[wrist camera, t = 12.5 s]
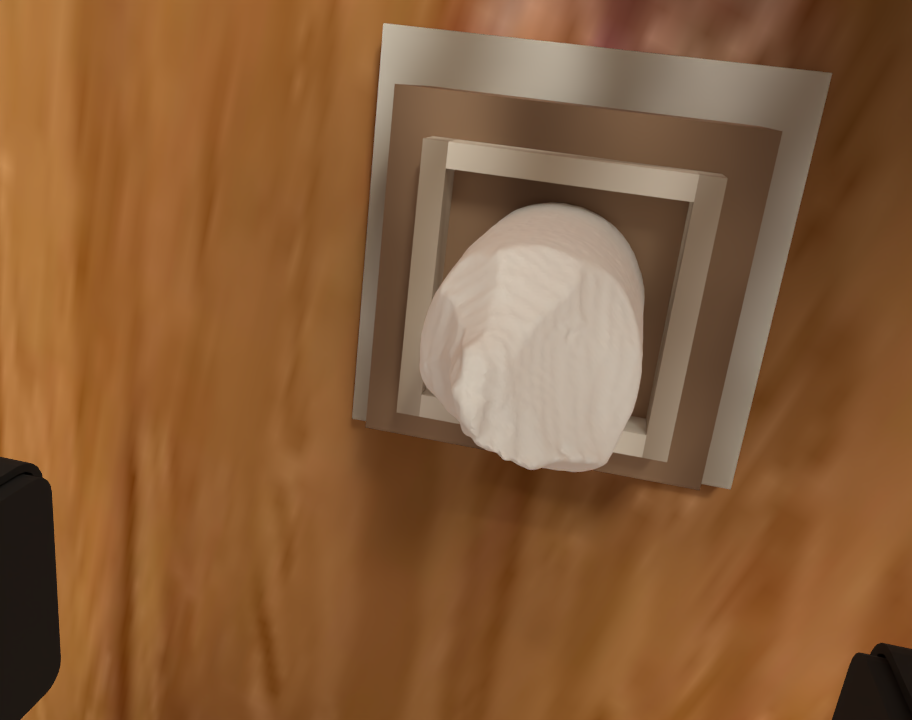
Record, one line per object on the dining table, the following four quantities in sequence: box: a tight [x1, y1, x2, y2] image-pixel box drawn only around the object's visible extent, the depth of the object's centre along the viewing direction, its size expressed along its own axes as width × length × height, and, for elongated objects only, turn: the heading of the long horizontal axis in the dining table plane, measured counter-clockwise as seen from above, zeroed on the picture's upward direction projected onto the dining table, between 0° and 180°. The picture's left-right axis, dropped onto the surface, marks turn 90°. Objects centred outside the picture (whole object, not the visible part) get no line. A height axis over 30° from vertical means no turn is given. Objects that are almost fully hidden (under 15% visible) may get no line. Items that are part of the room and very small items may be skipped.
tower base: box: [352, 23, 832, 490], centre depth 30 cm, size 16×16×8 cm
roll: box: [419, 202, 645, 472], centre depth 22 cm, size 6×12×6 cm
